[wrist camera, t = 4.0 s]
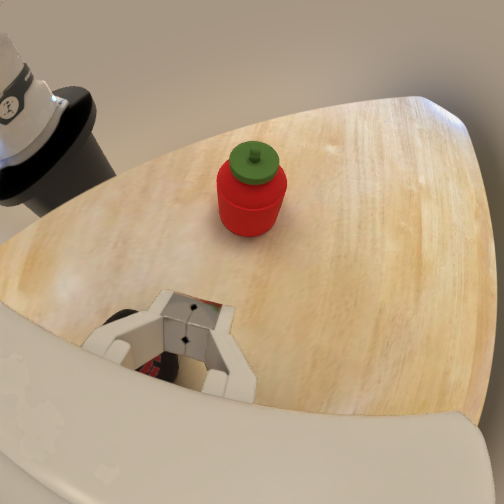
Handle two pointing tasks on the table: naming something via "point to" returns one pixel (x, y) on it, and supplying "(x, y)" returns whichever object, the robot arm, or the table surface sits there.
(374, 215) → the table surface
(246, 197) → the red green-capped container
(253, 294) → the table surface
